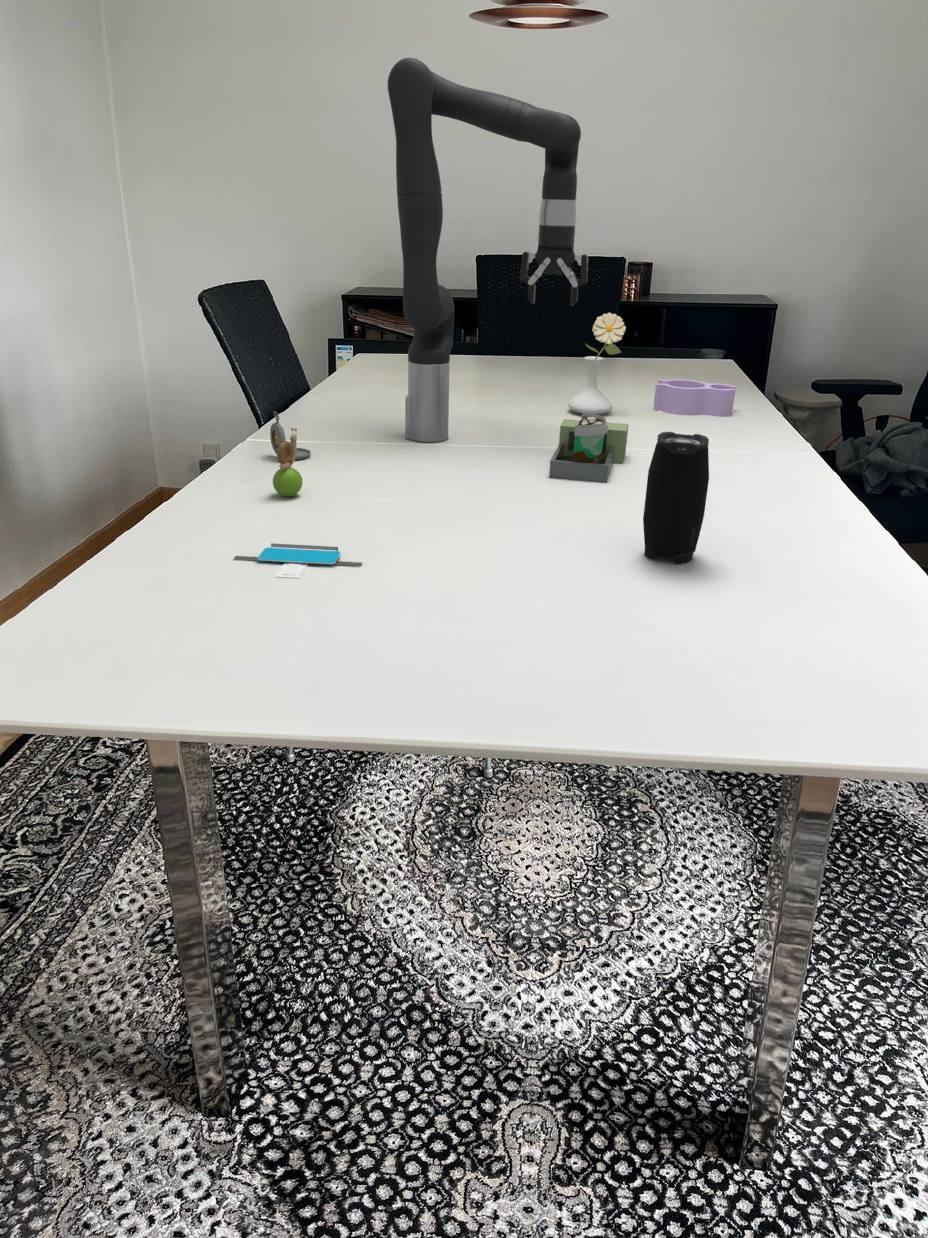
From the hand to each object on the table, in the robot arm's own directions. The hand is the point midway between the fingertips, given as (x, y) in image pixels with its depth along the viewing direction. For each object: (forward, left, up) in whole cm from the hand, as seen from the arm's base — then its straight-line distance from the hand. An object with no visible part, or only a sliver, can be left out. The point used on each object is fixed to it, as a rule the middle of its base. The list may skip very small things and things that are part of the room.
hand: (552, 304), depth 207 cm
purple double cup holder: (+33, +44, -30) cm, 63 cm away
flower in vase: (+8, +33, -30) cm, 46 cm away
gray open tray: (+11, -20, -30) cm, 38 cm away
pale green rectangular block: (+12, -10, -30) cm, 34 cm away
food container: (+13, -20, -30) cm, 38 cm away
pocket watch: (-50, -30, -30) cm, 65 cm away
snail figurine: (-40, -54, -30) cm, 74 cm away
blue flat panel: (-26, -86, -31) cm, 95 cm away
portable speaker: (+30, -66, -30) cm, 79 cm away
